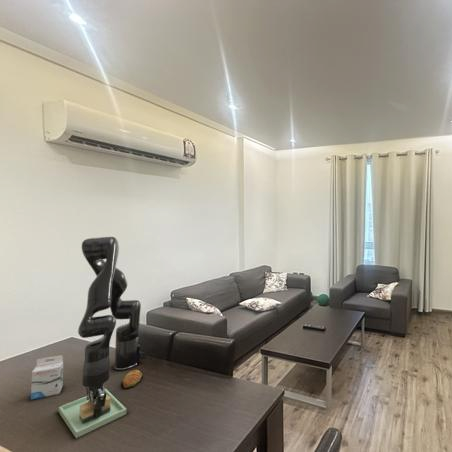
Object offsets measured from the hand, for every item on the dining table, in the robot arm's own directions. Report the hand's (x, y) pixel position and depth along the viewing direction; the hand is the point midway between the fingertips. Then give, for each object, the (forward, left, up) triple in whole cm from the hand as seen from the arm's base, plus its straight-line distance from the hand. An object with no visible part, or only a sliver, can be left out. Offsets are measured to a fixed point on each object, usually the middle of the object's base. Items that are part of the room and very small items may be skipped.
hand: (95, 414), depth 101 cm
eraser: (0, 0, 0) cm, 0 cm away
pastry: (-17, -14, -1) cm, 22 cm away
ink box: (+7, -32, -1) cm, 33 cm away
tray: (0, -3, -1) cm, 3 cm away
